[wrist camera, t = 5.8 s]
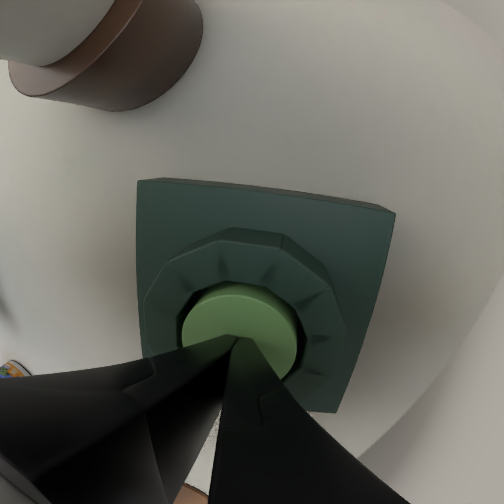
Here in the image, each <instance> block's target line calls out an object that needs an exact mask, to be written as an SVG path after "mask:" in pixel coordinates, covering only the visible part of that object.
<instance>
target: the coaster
mask: <svg viewBox="0 0 504 504" xmlns="http://www.w3.org/2000/svg"><path fill="white" fill-rule="evenodd" d="M207 503H208V496H207V495H206V494H204V493H203V492H201V491H200V490H198V489H196V488H194V487H192V486H190V485H187V484H185V483H184V484H183V486H182V488H181V489H180V491H179V493H178V495H177V497H176V499H175V501H174V503H173V504H207Z"/></svg>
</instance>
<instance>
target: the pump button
mask: <svg viewBox="0 0 504 504" xmlns="http://www.w3.org/2000/svg"><path fill="white" fill-rule="evenodd" d="M225 334H229V335H235V336H238V338H239V337H246V338H251V339H253V340H254V342H255V343H256V345H257V346H258V348H259V349H260V351H261V352H262V354H263V355H264V357H265V358H266V360H267V361H268V363H269V364H270V365H271V367H272V368H273V370H274V371H275V373H276V374H277V376H278V377H279V378H280V379H282V378H283V377H284V376H285V375H286V374H287V373H288V371H289V370H290V369H291V367H292V365H293V363H294V361H295V358H296V352H297V314H296V310H295V308H293V307H292V306H291V305H289V304H288V303H287V302H285V301H284V300H283V299H281V298H280V297H278V296H277V295H276V294H274V293H273V292H272V291H270V290H269V289H268V288H266V287H264V286H257V285H251V284H244V283H238V282H232V281H223V282H220V283H218V284H215V285H212V286H209V287H208V288H207V290H206V291H205V292H204V293H203V295H202V296H201V297H200V299H199V300H198V302H197V303H196V304H195V306H194V307H193V308H192V310H191V311H190V313H189V314H188V316H187V317H186V319H185V322H184V324H183V329H182V343H183V347H186V346H190V345H193V344H196V343H200V342H203V341H206V340H209V339H212V338H215V337H218V336H222V335H225Z"/></svg>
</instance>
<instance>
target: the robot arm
mask: <svg viewBox="0 0 504 504" xmlns="http://www.w3.org/2000/svg"><path fill="white" fill-rule="evenodd" d="M221 408H222V410H221ZM220 410H221V416H220V423H219V429H218V436H217V442H216V449H215V456H214V462H213V469H212V476H211V483H210V489H209V496H208V503H207V504H410V503H409V502H408V501H406V500H405V499H404V498H402V497H401V496H400V495H399V494H397V493H396V492H395V491H393V490H392V489H391V488H390V487H389V486H388V485H386V484H385V483H384V482H383V481H382V480H380V479H379V478H378V477H377V476H376V475H375V474H373V473H372V472H371V471H370V470H369V469H368V468H366V467H365V466H364V465H363V464H362V463H361V462H360V461H358V460H357V459H356V458H355V457H354V456H353V455H352V454H351V453H349V452H348V451H347V450H346V449H345V448H344V447H343V446H342V445H341V444H340V443H338V442H337V441H336V440H335V439H334V438H333V437H332V436H331V435H330V434H329V433H328V432H327V431H326V430H325V429H323V428H322V427H321V426H320V425H319V424H318V423H317V422H316V421H315V420H314V419H313V418H312V417H311V416H310V415H309V414H308V413H307V412H306V411H305V410H304V409H303V408H302V407H301V406H300V404H299V403H298V402H297V401H296V400H295V398H294V397H293V396H292V395H291V393H290V392H289V390H288V389H287V388H286V387H285V386H284V384H283V383H282V381H281V380H280V378H279V377H278V376H277V374H276V373H275V371H274V370H273V368H272V367H271V365H270V364H269V363H268V361H267V360H266V358H265V357H264V355H263V354H262V352H261V351H260V349H259V348H258V346H257V345H256V343H255V342H254V340H253V339H251V338H246V337H239V338H238V336H235V335H229V334H225V335H222V336H218V337H215V338H212V339H209V340H206V341H203V342H200V343H196V344H193V345H190V346H186V347H183V348H180V349H176V350H173V351H169V352H166V353H163V354H159V355H155V356H152V357H149V358H148V357H146V358H143V359H139V360H135V361H131V362H127V363H122V364H117V365H111V366H106V367H99V368H93V369H86V370H78V371H70V372H62V373H53V374H43V375H33V376H20V377H5V378H0V504H173V503H174V501H175V499H176V497H177V495H178V493H179V491H180V489H181V488H182V486H183V484H184V482H185V480H186V478H187V476H188V474H189V472H190V470H191V468H192V466H193V465H194V463H195V461H196V459H197V457H198V455H199V453H200V451H201V449H202V447H203V445H204V443H205V441H206V439H207V437H208V435H209V433H210V431H211V429H212V427H213V425H214V423H215V421H216V419H217V416H218V414H219V412H220Z"/></svg>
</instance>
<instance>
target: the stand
mask: <svg viewBox="0 0 504 504" xmlns="http://www.w3.org/2000/svg"><path fill="white" fill-rule="evenodd" d="M202 30H203V22H202V16H201V12H200V10H199V8H198V6H197V4H196V3H195V2H194V0H115V1H114V3H113V5H112V6H111V8H110V9H109V11H108V12H107V14H106V15H105V17H104V18H103V19H102V20H101V22H100V23H99V24H98V26H97V27H96V28H95V29H94V30H93V31H92V32H91V34H90V35H89V36H88V37H87V38H86V39H85V40H84V41H83V42H82V43H80V44H79V45H78V46H77V47H76V48H75V49H74V50H72V51H71V52H70V53H69V54H67V55H66V56H64V57H63V58H61V59H60V60H58V61H56V62H54V63H52V64H49V65H45V66H39V67H38V66H32V65H28V64H23V63H19V62H14V61H9V60H8V69H9V75H10V78H11V81H12V83H13V85H14V87H15V88H16V89H17V90H18V91H19V92H20V93H22V94H23V95H26V96H29V97H35V98H42V99H48V100H54V101H60V102H66V103H72V104H77V105H82V106H87V107H92V108H97V109H101V110H106V111H125V110H130V109H134V108H137V107H140V106H142V105H144V104H147V103H148V102H150V101H152V100H154V99H156V98H157V97H158V96H160V95H161V94H163V93H164V92H165V91H167V90H168V89H169V88H170V87H171V86H172V85H173V84H174V83H175V82H176V81H177V80H178V79H179V78H180V77H181V76H182V75H183V73H184V72H185V71H186V70H187V68H188V67H189V65H190V64H191V62H192V60H193V58H194V57H195V55H196V53H197V50H198V47H199V45H200V41H201V37H202Z"/></svg>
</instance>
